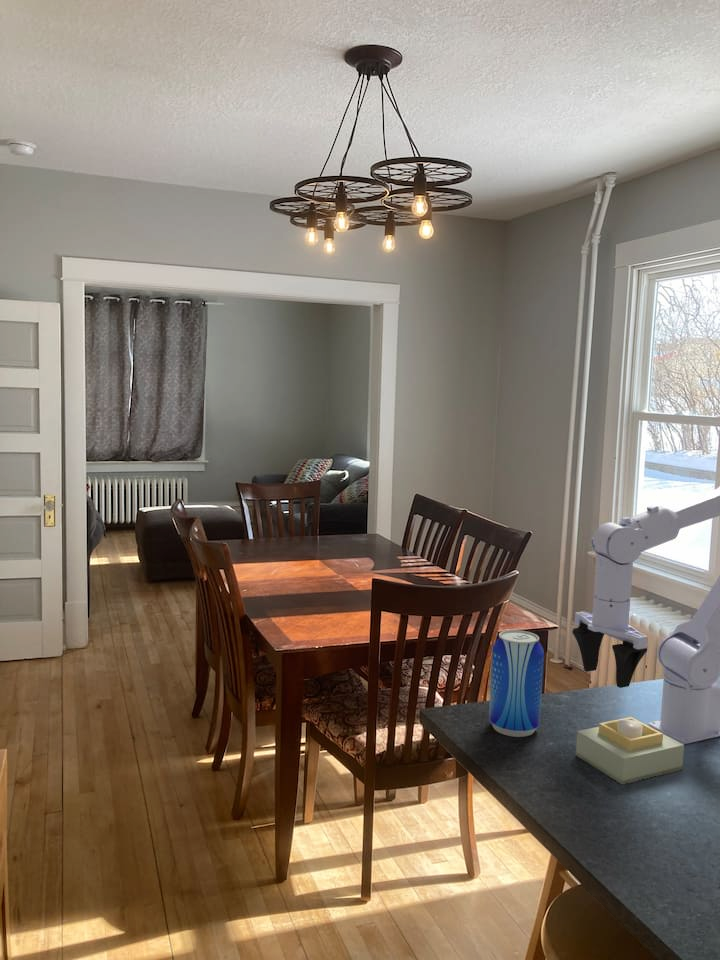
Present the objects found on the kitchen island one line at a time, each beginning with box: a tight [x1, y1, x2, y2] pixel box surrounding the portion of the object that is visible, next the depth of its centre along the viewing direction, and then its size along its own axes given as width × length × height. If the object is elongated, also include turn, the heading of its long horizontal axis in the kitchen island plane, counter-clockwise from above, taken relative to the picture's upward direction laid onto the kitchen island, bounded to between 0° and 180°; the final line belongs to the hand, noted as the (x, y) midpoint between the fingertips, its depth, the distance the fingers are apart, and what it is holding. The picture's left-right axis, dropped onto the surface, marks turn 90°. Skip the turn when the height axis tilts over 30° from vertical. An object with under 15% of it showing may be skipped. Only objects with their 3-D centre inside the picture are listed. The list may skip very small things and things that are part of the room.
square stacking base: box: [575, 716, 685, 786], centre depth 123 cm, size 12×10×6 cm
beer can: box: [488, 629, 545, 738], centre depth 134 cm, size 8×8×16 cm
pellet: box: [617, 720, 643, 739], centre depth 123 cm, size 4×4×6 cm
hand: (606, 678), depth 132 cm, fingers open, 7 cm apart
